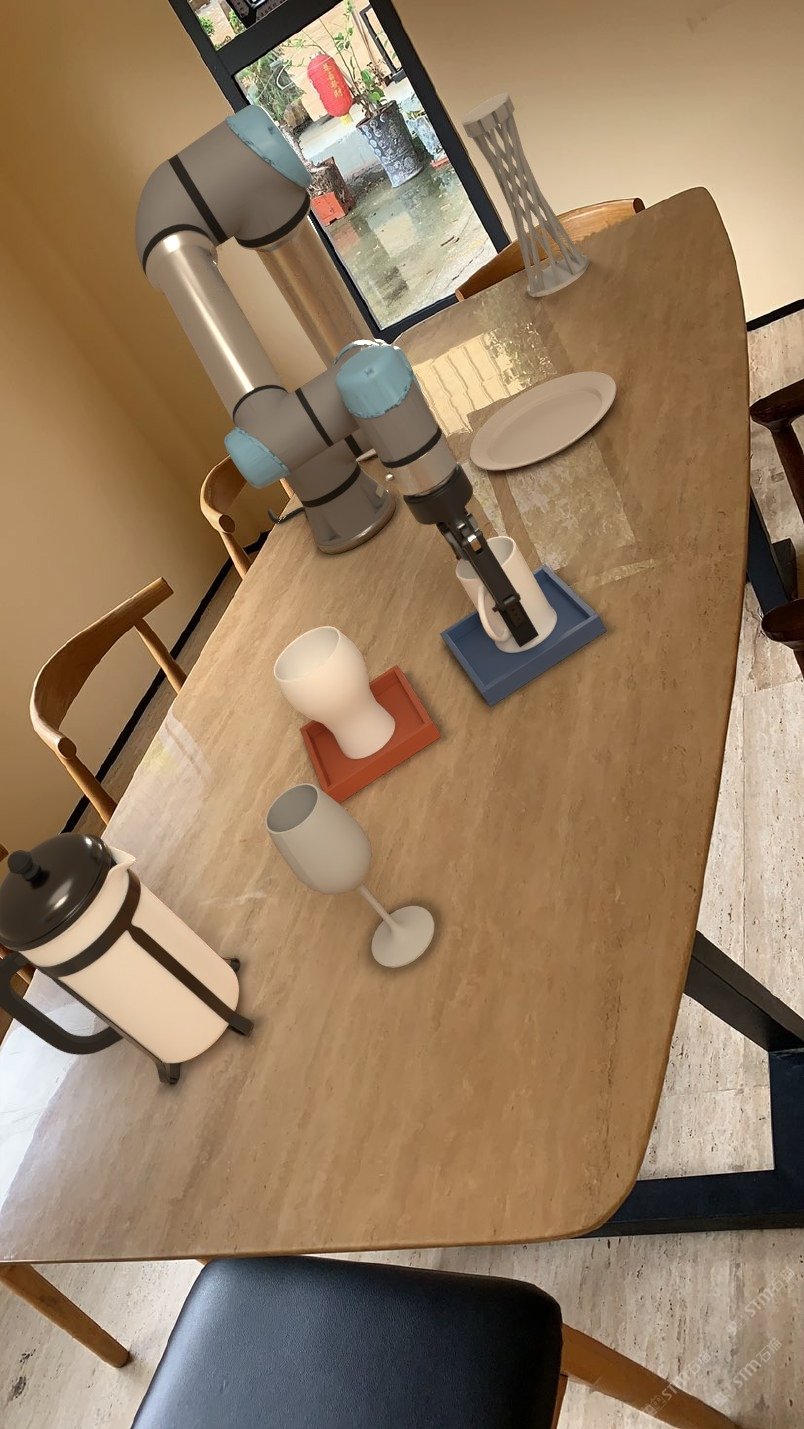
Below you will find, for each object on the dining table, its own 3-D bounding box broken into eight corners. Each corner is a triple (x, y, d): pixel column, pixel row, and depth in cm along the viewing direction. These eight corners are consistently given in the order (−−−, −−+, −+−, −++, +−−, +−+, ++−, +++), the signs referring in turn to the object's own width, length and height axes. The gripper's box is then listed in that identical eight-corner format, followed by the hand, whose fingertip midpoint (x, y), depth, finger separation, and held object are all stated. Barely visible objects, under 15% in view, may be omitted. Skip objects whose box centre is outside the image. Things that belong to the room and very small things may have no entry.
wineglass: (444, 903, 106) (338, 771, 95) (424, 969, 102) (310, 838, 90) (384, 906, 110) (275, 780, 99) (361, 969, 106) (244, 844, 94)
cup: (332, 728, 138) (270, 648, 130) (402, 694, 136) (343, 610, 127) (334, 780, 130) (267, 698, 121) (409, 745, 127) (346, 658, 119)
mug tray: (448, 646, 139) (439, 633, 138) (552, 577, 138) (544, 563, 137) (490, 707, 125) (481, 693, 124) (606, 630, 124) (599, 615, 123)
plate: (646, 409, 157) (641, 397, 156) (500, 499, 160) (495, 489, 159) (585, 366, 178) (581, 356, 177) (458, 447, 181) (452, 437, 180)
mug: (537, 668, 125) (494, 595, 118) (478, 674, 130) (433, 604, 124) (565, 602, 132) (526, 529, 125) (508, 611, 137) (467, 540, 130)
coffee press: (193, 950, 121) (16, 786, 104) (287, 974, 110) (106, 796, 94) (105, 1087, 112) (-104, 932, 95) (198, 1127, 102) (-19, 961, 85)
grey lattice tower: (517, 301, 216) (439, 136, 197) (549, 265, 222) (477, 101, 202) (568, 290, 207) (492, 114, 187) (601, 253, 212) (530, 78, 192)
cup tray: (309, 741, 140) (299, 728, 138) (406, 677, 139) (397, 663, 138) (334, 806, 127) (323, 793, 126) (441, 736, 126) (431, 722, 125)
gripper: (377, 468, 127) (460, 604, 139) (430, 530, 109) (520, 680, 121) (429, 433, 127) (507, 572, 139) (491, 490, 108) (574, 644, 121)
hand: (513, 622), depth 130 cm, fingers closed on mug, 9 cm apart
